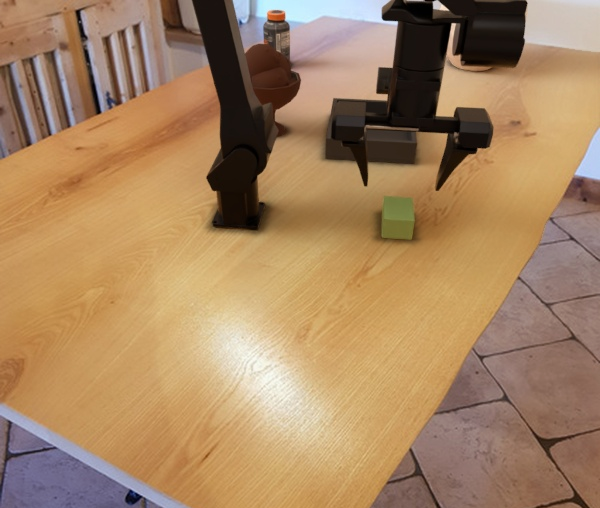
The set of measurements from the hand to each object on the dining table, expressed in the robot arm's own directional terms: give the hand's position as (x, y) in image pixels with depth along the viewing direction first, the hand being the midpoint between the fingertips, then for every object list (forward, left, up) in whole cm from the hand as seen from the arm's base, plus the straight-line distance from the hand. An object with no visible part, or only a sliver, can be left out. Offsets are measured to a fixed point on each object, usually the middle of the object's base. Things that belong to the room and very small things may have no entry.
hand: (401, 187), depth 72 cm
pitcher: (+71, -19, -6) cm, 74 cm away
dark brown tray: (+28, +4, -6) cm, 29 cm away
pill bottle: (+65, +26, -6) cm, 70 cm away
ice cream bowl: (+29, +22, -6) cm, 37 cm away
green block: (0, 0, -6) cm, 6 cm away
